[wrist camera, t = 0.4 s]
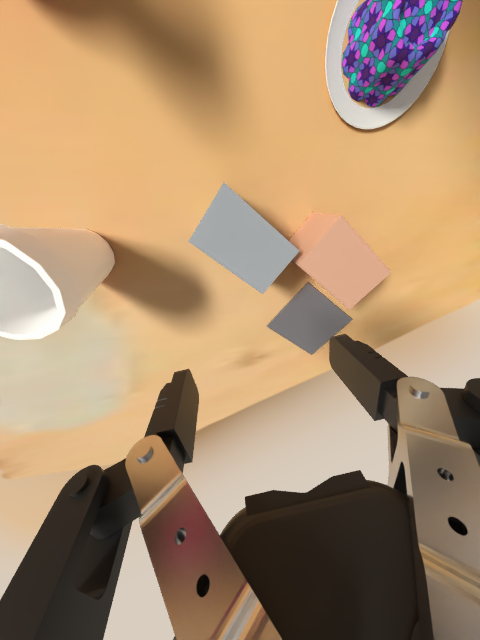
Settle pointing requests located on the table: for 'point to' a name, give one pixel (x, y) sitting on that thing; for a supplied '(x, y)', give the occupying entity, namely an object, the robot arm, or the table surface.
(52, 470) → the table surface
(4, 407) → the table surface
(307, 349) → the mat
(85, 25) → the table surface
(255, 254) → the plate
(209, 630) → the robot arm
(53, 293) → the foam cup
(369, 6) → the pudding
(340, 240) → the cover terracotta
